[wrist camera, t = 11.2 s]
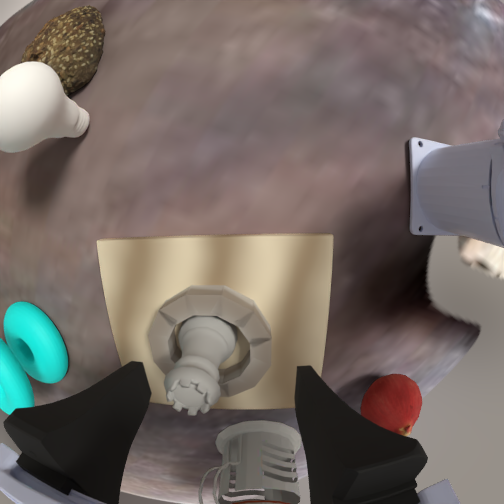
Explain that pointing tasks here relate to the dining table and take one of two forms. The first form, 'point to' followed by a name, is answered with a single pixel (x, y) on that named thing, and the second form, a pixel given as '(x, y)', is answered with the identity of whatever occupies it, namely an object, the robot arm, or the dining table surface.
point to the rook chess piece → (200, 363)
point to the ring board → (238, 266)
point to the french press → (257, 463)
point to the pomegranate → (393, 403)
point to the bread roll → (70, 46)
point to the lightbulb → (36, 108)
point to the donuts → (28, 355)
